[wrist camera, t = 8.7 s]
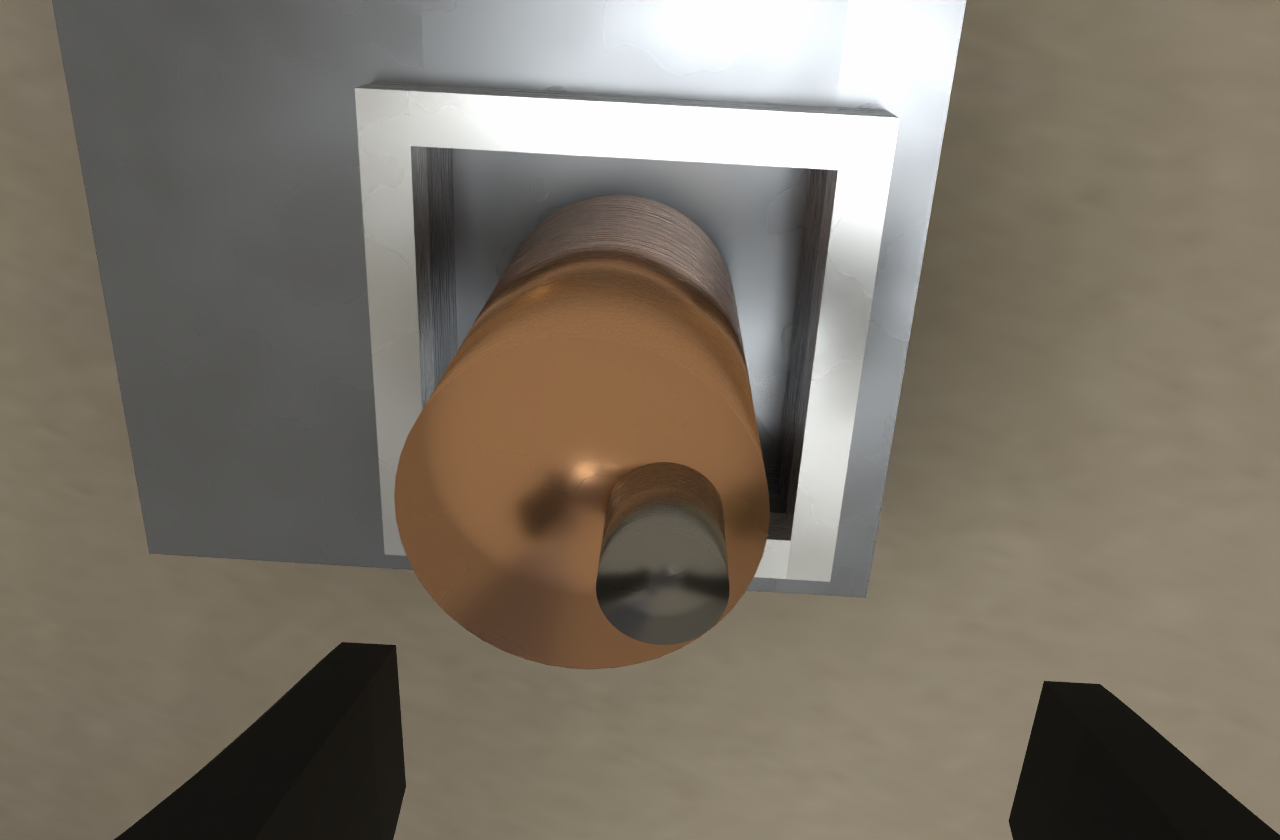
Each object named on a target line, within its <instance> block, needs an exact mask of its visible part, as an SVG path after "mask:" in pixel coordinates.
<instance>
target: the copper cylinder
mask: <svg viewBox="0 0 1280 840" xmlns="http://www.w3.org/2000/svg"><path fill="white" fill-rule="evenodd" d="M394 503H395V514H396V522H397V526H398V531H399V535H400V539H401V542H402V545H403V548H404V550H405V553H406V555H407V558H408V560H409V562H410V564H411V566H412V568H413V570H414V571H415V573H416V575H417V577H418V579H419V580H420V582H421V583H422V585H423V586H424V587H425V589H426V590H427V591H428V593H429V594H430V595H431V597H432V598H433V599H434V600H435V601H436V602H437V603H438V604H439V605H440V607H441V608H442V609H443V610H444V611H445V612H446V613H447V614H448V615H449V616H451V617H452V618H453V619H454V620H455V621H457V622H458V623H459V624H460V625H461V626H463V627H464V628H465V629H467V630H468V631H470V632H471V633H473V634H474V635H476V636H477V637H479V638H480V639H482V640H483V641H485V642H487V643H489V644H491V645H493V646H495V647H497V648H499V649H501V650H503V651H505V652H508V653H511V654H513V655H516V656H518V657H521V658H524V659H527V660H531V661H535V662H539V663H542V664H546V665H552V666H559V667H566V668H578V669H602V668H616V667H622V666H627V665H633V664H638V663H642V662H645V661H649V660H652V659H655V658H659V657H661V656H664V655H666V654H668V653H671V652H673V651H675V650H678V649H680V648H682V647H683V646H685V645H687V644H689V643H690V642H692V641H694V640H696V639H697V638H699V637H700V636H702V635H703V634H704V633H706V632H707V631H708V630H710V629H711V628H712V627H714V626H715V625H716V624H717V623H718V622H719V621H720V620H721V619H722V618H723V617H724V616H726V615H727V614H728V613H729V612H730V611H731V610H732V608H733V607H734V606H735V605H736V603H737V602H738V601H739V599H740V598H741V597H742V596H743V594H744V593H745V591H746V590H747V588H748V586H749V584H750V583H751V581H752V579H753V578H754V576H755V574H756V571H757V569H758V566H759V564H760V561H761V559H762V556H763V553H764V549H765V545H766V541H767V537H768V529H769V518H770V506H769V491H768V485H767V479H766V473H765V468H764V462H763V456H762V450H761V445H760V439H759V433H758V427H757V422H756V416H755V410H754V404H753V398H752V393H751V387H750V381H749V375H748V370H747V364H746V358H745V352H744V347H743V341H742V335H741V329H740V324H739V318H738V312H737V306H736V301H735V295H734V290H733V285H732V281H731V277H730V274H729V272H728V269H727V266H726V264H725V262H724V260H723V258H722V256H721V254H720V252H719V251H718V249H717V248H716V246H715V245H714V244H713V242H712V241H711V239H710V238H709V237H708V236H707V235H706V234H705V233H704V232H703V231H702V230H701V228H700V227H698V226H697V225H696V224H695V223H694V222H692V221H691V220H690V219H689V218H687V217H686V216H684V215H683V214H681V213H679V212H678V211H676V210H675V209H673V208H670V207H668V206H666V205H664V204H662V203H659V202H656V201H653V200H649V199H646V198H642V197H636V196H630V195H605V196H596V197H592V198H587V199H583V200H580V201H577V202H575V203H572V204H569V205H567V206H565V207H563V208H561V209H559V210H558V211H556V212H554V213H552V214H551V215H550V216H548V217H547V218H546V219H544V220H543V221H542V222H540V223H539V224H538V225H537V226H536V227H535V228H534V229H533V230H532V231H531V232H530V233H529V234H528V236H527V237H526V238H525V240H524V241H523V242H522V243H521V245H520V246H519V248H518V250H517V251H516V253H515V255H514V256H513V258H512V260H511V261H510V263H509V265H508V266H507V268H506V270H505V272H504V273H503V275H502V277H501V278H500V280H499V282H498V283H497V285H496V287H495V288H494V290H493V292H492V293H491V295H490V297H489V298H488V300H487V302H486V303H485V305H484V307H483V309H482V310H481V312H480V314H479V315H478V317H477V319H476V320H475V322H474V324H473V325H472V327H471V329H470V330H469V332H468V334H467V335H466V337H465V339H464V340H463V342H462V344H461V346H460V347H459V349H458V351H457V352H456V354H455V356H454V357H453V359H452V361H451V362H450V364H449V366H448V367H447V369H446V371H445V372H444V374H443V376H442V378H441V379H440V381H439V383H438V384H437V386H436V388H435V389H434V391H433V393H432V394H431V396H430V398H429V399H428V401H427V403H426V404H425V406H424V408H423V409H422V411H421V413H420V415H419V416H418V418H417V420H416V422H415V423H414V425H413V427H412V429H411V430H410V432H409V434H408V436H407V439H406V441H405V444H404V447H403V449H402V452H401V454H400V458H399V463H398V467H397V472H396V477H395V492H394Z"/></svg>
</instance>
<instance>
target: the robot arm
mask: <svg viewBox="0 0 1280 840" xmlns="http://www.w3.org/2000/svg"><path fill="white" fill-rule="evenodd" d="M405 788H406V781H405V767H404V752H403V738H402V724H401V710H400V696H399V682H398V668H397V654H396V645H383V644H364V643H346V642H342V643H341V644H339V645H338V646H337V647H336V648H335V649H334V650H332V651H331V652H330V653H329V654H328V655H327V656H326V657H325V658H323V659H322V660H321V661H320V662H319V663H318V664H317V665H316V666H315V667H314V668H313V669H312V670H310V671H309V672H308V673H307V674H306V675H305V676H304V677H303V678H302V679H301V680H300V681H299V682H298V683H297V684H295V685H294V686H293V687H292V688H291V689H290V690H289V691H288V692H287V693H286V694H285V695H284V696H283V697H282V698H280V699H279V700H278V701H277V702H276V703H275V704H274V705H273V706H272V707H271V708H270V709H269V710H267V711H266V712H265V713H264V714H263V715H262V716H261V717H260V718H259V719H258V720H257V721H256V722H254V723H253V724H252V725H251V726H250V727H249V728H248V729H247V730H245V731H244V732H243V733H242V734H241V735H240V736H239V737H238V738H236V739H235V740H234V741H233V742H232V743H231V744H230V745H228V746H227V747H226V748H225V749H224V750H223V751H222V752H221V753H219V754H218V755H217V756H216V757H215V758H214V759H213V760H212V761H210V762H209V763H208V764H207V765H206V766H205V767H204V768H202V769H201V770H200V771H199V772H198V773H197V774H195V775H194V776H193V777H192V778H191V779H189V780H188V781H187V782H186V783H184V784H183V785H182V786H181V787H180V788H178V789H177V790H176V791H175V792H173V793H172V794H171V795H170V796H168V797H167V798H166V799H165V800H163V801H162V802H161V803H160V804H159V805H157V806H156V807H155V808H154V809H152V810H151V811H150V812H149V813H147V814H146V815H145V816H144V817H142V818H141V819H140V820H139V821H138V822H136V823H135V824H134V825H133V826H131V827H130V828H129V829H128V830H126V831H125V832H124V833H122V834H121V835H120V836H118V837H117V838H116V839H114V840H393V838H394V834H395V830H396V825H397V821H398V817H399V813H400V809H401V805H402V800H403V796H404V792H405ZM1009 824H1010V828H1011V832H1012V836H1013V840H1280V835H1279V834H1278V833H1276V832H1275V831H1274V830H1273V829H1272V828H1270V827H1269V826H1268V825H1267V824H1265V823H1264V822H1263V821H1262V820H1261V819H1259V818H1258V817H1257V816H1256V815H1254V814H1253V813H1252V812H1251V811H1250V810H1248V809H1247V808H1246V807H1245V806H1244V805H1243V804H1241V803H1240V802H1239V801H1238V800H1237V799H1235V798H1234V797H1233V796H1232V795H1231V794H1229V793H1228V792H1227V791H1226V790H1225V789H1223V788H1222V787H1221V786H1220V785H1219V784H1218V783H1216V782H1215V781H1214V780H1213V779H1212V778H1211V777H1209V776H1208V775H1207V774H1206V773H1205V772H1204V771H1202V770H1201V769H1200V768H1199V767H1198V766H1197V765H1195V764H1194V763H1193V762H1192V761H1191V760H1190V759H1188V758H1187V757H1186V756H1185V755H1184V754H1183V753H1181V752H1180V751H1179V750H1178V749H1177V748H1176V747H1175V746H1173V745H1172V744H1171V743H1170V742H1169V741H1168V740H1166V739H1165V738H1164V737H1163V736H1162V735H1161V734H1159V733H1158V732H1157V731H1156V730H1155V729H1154V728H1152V727H1151V726H1150V725H1149V724H1148V723H1147V722H1145V721H1144V720H1143V719H1142V718H1141V717H1140V716H1138V715H1137V714H1136V713H1135V712H1134V711H1133V710H1131V709H1130V708H1129V707H1128V706H1127V705H1125V704H1124V703H1123V702H1122V701H1121V700H1119V699H1118V698H1117V697H1116V696H1114V695H1113V694H1112V693H1111V692H1109V691H1108V690H1107V689H1105V688H1104V687H1103V686H1102V685H1100V684H1088V683H1070V682H1052V681H1044V684H1043V687H1042V691H1041V695H1040V699H1039V703H1038V707H1037V711H1036V715H1035V719H1034V723H1033V727H1032V731H1031V735H1030V739H1029V743H1028V747H1027V751H1026V755H1025V759H1024V763H1023V766H1022V770H1021V774H1020V778H1019V782H1018V786H1017V790H1016V794H1015V798H1014V802H1013V806H1012V810H1011V814H1010V818H1009Z"/></svg>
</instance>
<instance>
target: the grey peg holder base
mask: <svg viewBox="0 0 1280 840" xmlns="http://www.w3.org/2000/svg"><path fill="white" fill-rule="evenodd" d="M52 3H53V8H54V14H55V20H56V25H57V31H58V37H59V42H60V48H61V54H62V59H63V65H64V71H65V76H66V82H67V88H68V94H69V99H70V105H71V111H72V116H73V122H74V128H75V133H76V139H77V145H78V150H79V156H80V162H81V167H82V173H83V179H84V184H85V190H86V196H87V201H88V207H89V213H90V219H91V224H92V230H93V236H94V241H95V247H96V253H97V258H98V264H99V270H100V275H101V281H102V287H103V292H104V298H105V304H106V309H107V315H108V321H109V327H110V332H111V338H112V344H113V349H114V355H115V361H116V366H117V372H118V378H119V383H120V389H121V395H122V400H123V406H124V412H125V417H126V423H127V429H128V434H129V440H130V446H131V452H132V457H133V463H134V469H135V474H136V480H137V486H138V491H139V497H140V503H141V508H142V514H143V520H144V525H145V531H146V537H147V542H148V548H149V553H150V554H166V555H182V556H198V557H214V558H230V559H247V560H263V561H279V562H295V563H311V564H328V565H344V566H360V567H376V568H392V569H409V570H413V568H412V566H411V564H410V562H409V560H408V558H407V555H406V553H405V550H404V548H403V545H402V542H401V539H400V535H399V531H398V526H397V522H396V514H395V503H394V492H395V477H396V472H397V467H398V463H399V458H400V454H401V452H402V449H403V447H404V444H405V441H406V439H407V436H408V434H409V432H410V430H411V429H412V427H413V425H414V423H415V422H416V420H417V418H418V416H419V415H420V413H421V411H422V409H423V408H424V406H425V404H426V403H427V401H428V399H429V398H430V396H431V394H432V393H433V391H434V389H435V388H436V386H437V384H438V383H439V381H440V379H441V378H442V376H443V374H444V372H445V371H446V369H447V367H448V366H449V364H450V362H451V361H452V359H453V357H454V356H455V354H456V352H457V351H458V349H459V347H460V346H461V344H462V342H463V340H464V339H465V337H466V335H467V334H468V332H469V330H470V329H471V327H472V325H473V324H474V322H475V320H476V319H477V317H478V315H479V314H480V312H481V310H482V309H483V307H484V305H485V303H486V302H487V300H488V298H489V297H490V295H491V293H492V292H493V290H494V288H495V287H496V285H497V283H498V282H499V280H500V278H501V277H502V275H503V273H504V272H505V270H506V268H507V266H508V265H509V263H510V261H511V260H512V258H513V256H514V255H515V253H516V251H517V250H518V248H519V246H520V245H521V243H522V242H523V241H524V240H525V238H526V237H527V236H528V234H529V233H530V232H531V231H532V230H533V229H534V228H535V227H536V226H537V225H538V224H539V223H540V222H542V221H543V220H544V219H546V218H547V217H548V216H550V215H551V214H552V213H554V212H556V211H558V210H559V209H561V208H563V207H565V206H567V205H569V204H572V203H575V202H577V201H580V200H583V199H587V198H592V197H596V196H605V195H630V196H636V197H642V198H646V199H649V200H653V201H656V202H659V203H662V204H664V205H666V206H668V207H670V208H673V209H675V210H676V211H678V212H679V213H681V214H683V215H684V216H686V217H687V218H689V219H690V220H691V221H692V222H694V223H695V224H696V225H697V226H698V227H700V228H701V230H702V231H703V232H704V233H705V234H706V235H707V236H708V237H709V238H710V239H711V241H712V242H713V244H714V245H715V246H716V248H717V249H718V251H719V252H720V254H721V256H722V258H723V260H724V262H725V264H726V266H727V269H728V272H729V274H730V277H731V281H732V285H733V290H734V295H735V301H736V306H737V312H738V318H739V324H740V329H741V335H742V341H743V347H744V352H745V358H746V364H747V370H748V375H749V381H750V387H751V393H752V398H753V404H754V410H755V416H756V422H757V427H758V433H759V439H760V445H761V450H762V456H763V462H764V468H765V473H766V479H767V485H768V491H769V506H770V518H769V529H768V537H767V541H766V545H765V549H764V553H763V556H762V559H761V561H760V564H759V566H758V569H757V571H756V574H755V576H754V578H753V579H752V581H751V583H750V584H749V586H748V588H747V590H748V591H765V592H781V593H797V594H813V595H829V596H846V597H862V598H866V594H867V588H868V582H869V576H870V570H871V564H872V558H873V553H874V547H875V541H876V535H877V529H878V523H879V517H880V511H881V505H882V499H883V493H884V487H885V481H886V475H887V469H888V463H889V457H890V451H891V445H892V439H893V433H894V427H895V422H896V416H897V410H898V404H899V398H900V392H901V386H902V380H903V374H904V368H905V362H906V356H907V350H908V344H909V338H910V332H911V326H912V320H913V314H914V308H915V302H916V296H917V291H918V285H919V279H920V273H921V267H922V261H923V255H924V249H925V243H926V237H927V231H928V225H929V219H930V213H931V207H932V201H933V195H934V189H935V183H936V177H937V171H938V166H939V160H940V154H941V148H942V142H943V136H944V130H945V124H946V118H947V112H948V106H949V100H950V94H951V88H952V82H953V76H954V70H955V64H956V58H957V52H958V46H959V40H960V35H961V29H962V23H963V17H964V11H965V5H966V0H52Z"/></svg>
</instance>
